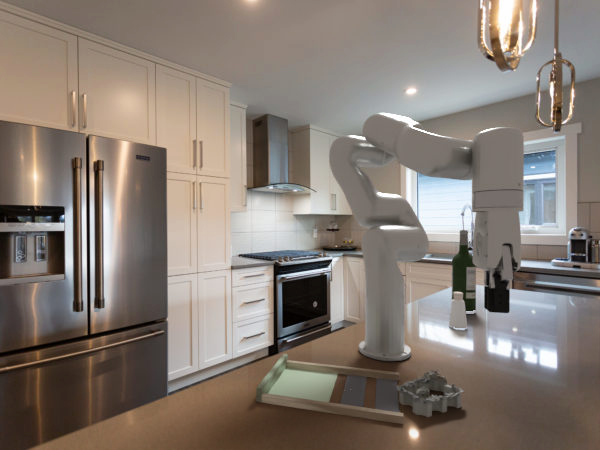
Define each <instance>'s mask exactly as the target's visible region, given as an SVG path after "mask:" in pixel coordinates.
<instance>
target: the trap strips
mask: <svg viewBox="0 0 600 450" xmlns="http://www.w3.org/2000/svg"><path fill="white" fill-rule="evenodd" d="M367 378H368V377H365V376H356V375H347V374H346V380H345V384H344V388H343V392H342V395H341V399H340V403H339V404H343V405H350V406H357V407H364V403H365V394H366V389H367V388H366V386H367ZM395 386H398V381H397V380H390V379H381V378H376V385H375V402H374V409H378V410H385V411H392V412H399V413H400V405H399V403H400V402H399V390H397V387H395ZM350 389H351V390H350ZM344 390H345V391H344Z"/></svg>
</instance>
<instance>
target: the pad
mask: <svg viewBox="0 0 600 450" xmlns="http://www.w3.org/2000/svg"><path fill="white" fill-rule="evenodd" d="M338 375H339V373H331V372H323V371H315V370H306V369H298V368H290V367H286V369H285V370H284V371H283V373H282V374H281V376H280V377H279V379H278V380H277V381H276V383H275V384H274V386H273V387H272V388H271V390H270V391H269V393H268V394H274V395H281V396H288V397H295V398H302V399H309V400H316V401H323V402H330V400H331V397H332V395H333V391H334V388H335V384H336V382H337V379H338Z"/></svg>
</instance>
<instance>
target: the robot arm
mask: <svg viewBox="0 0 600 450" xmlns="http://www.w3.org/2000/svg"><path fill="white" fill-rule="evenodd" d="M362 135H363V136H360V135H341V136H339V137H337V138H336V139H335V140H333V141H332V143H331V145H330V148H329V153H328V155H329V167H330V170H331V173H332V175H333V178H334V180H335V181H336V182H337V184H338V185H339V187H340V189H341V191H342V192H343V194H344V197H345V199H346V202H347V205H348V206H349V209H350V210H351V212H352V215H353V218H354V219H355V221H356V223H357V224H358V225H359V226H360V227H362V228H365V229H366V228H367V229H366V230H365V232H364V233H363V234H362V236H361V237H362V238H361V253H362V258H363V263H364V274H365V275H364V277H365V278H364V279H365V281H364V284H365V286H364V287H365V293H364V294H365V296H364V298H365V306H364V307H365V308H364V310H365V311H364V313H365V319H364V324H365V326H364V330H365V331H364V335H365V336H364V337H365V338H364V340H362V341H360V342H359V344H358V350H359V352H360V353H361V354H362V355H364V356H365V357H367V358H369V359H373V360H378V361H382V362H400V361H404V360H407V359H409V358H410V357H411V356H412V349H411V347H410V346H408V344H406V343H405V324H406V323H405V318H406V317H405V315H406V314H405V312H406V311H405V310H406V309H405V307H406V306H405V304H406V303H405V302H406V300H405V299H406V298H405V296H406V295H405V291H406V290H405V289H406V288H405V284H406V283H405V278H404V275H403V272H402V271H401V269H400V266H399V265H398V263H411V262H413V263H414V262H418V261H420V260H422V259H424V258H425V257H426V256H427V254H428V252H429V249H430V243H429V238H428V235H427V232H426V230H425V227H424V226H423V225H422V223H421V221H420V219H419V218H418V216H417V214H416V212H415V210H414V209H413V207H412V206H411V204H410V202H409V201H408V200H407V199H406V198H404V197H403V196H401V195H399V194H395V193H383V192H380V191H378V189H377V187H376V186H375V184H374V182H373V180H372V178H371V177H370V176H369V175H368V174H367V173H366V172H365V171H363V169H362V168H369V169H380V168H383V167H385V166H387V165H389V164H390V163H392V162H393V161H395V160H397V162H398V163H399V164H400V165H402V166H403V167H405V168H408V169H409V170H411V171H414V172H416V173H417V174H420V175H423V176H426V177H430V178H439V179H450V180H456V181H457V180H458V181H472V182H471V184H472V185H471V187H472V188H471V189H472V191H471V212H472V213H475V217H474V226H473V241H472V242H473V243H472V244H473V245H472V256H473V264H474V265H475V266H476V268H477V267H478V268H479V269H481V270H483V278H484V279H483V283H484V286H483V288H484V289H483V290H484V291H483V292H484V296H483V297H484V298H483V299H484V301H483V302H484V303H483V308H484V309H485V310H486V311H488V312H489V313H494V314H495V313H498V314H499V313H500V314H509V313H510V307H511V306H510V295H511V294H510V290H511V281H512V280H514V273H515V272H517V271H519V270H520V269H521V267H522V265H521V264H522V234H521V232H522V231H521V221H520V212H524V211H525V210H524V208H525V207H524V201H525V200H524V193H525V191H524V178H525V176H524V172H525V171H524V169H525V168H524V167H525V162H524V157H525V156H524V153H525V152H524V151H525V149H524V148H525V147H524V146H525V144H524V142H525V140H524V134H523V132H522V131H521V129H519V128H517V127H509V126H505V127H504V126H501V127H495V128H494V127H493V128H489V129H485V130H483V131H480V132H478V133H476V135H475V136H474V137H473V139H472V140H471V139H463V138H462V139H461V138H457V137H452V136H443V135H439V134H435V133H431V132H427V131H425V127H424V126H423V125H422V124H421V123H419V122H417V121H414V119H412V118H410V117H406V116H402V115H397V114H393V113H388V112H387V113H386V112H378V113H374V114H372V115H370V116H369V117H368V118H367V119H365V121H364V123H363V125H362ZM513 272H514V273H513Z"/></svg>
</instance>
